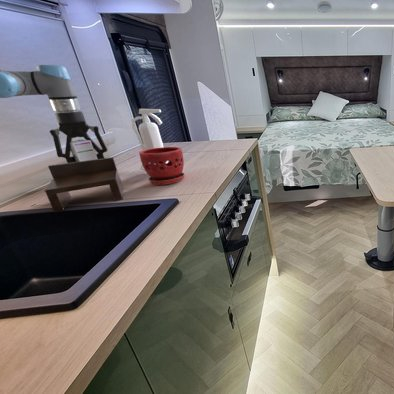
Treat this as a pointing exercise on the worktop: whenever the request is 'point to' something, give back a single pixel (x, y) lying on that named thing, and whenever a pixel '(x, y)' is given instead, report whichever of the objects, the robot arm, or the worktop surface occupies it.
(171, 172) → the flower pot
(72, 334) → the worktop surface
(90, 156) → the syrup box
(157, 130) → the fire extinguisher
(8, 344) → the worktop surface
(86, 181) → the bench
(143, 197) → the worktop surface
